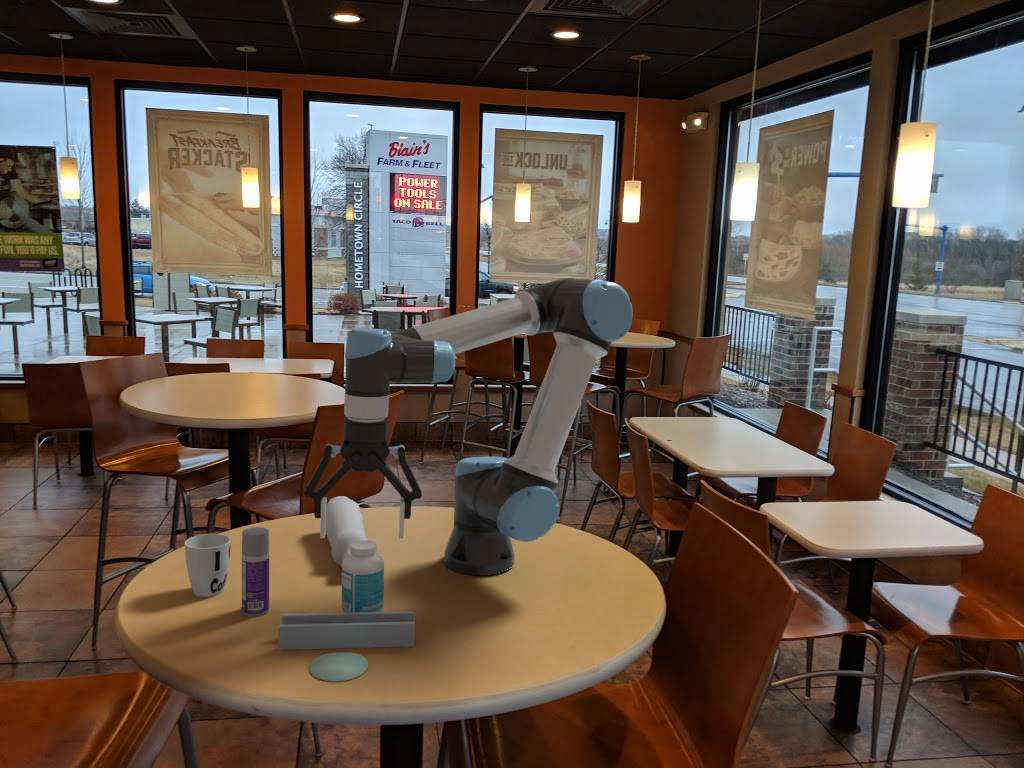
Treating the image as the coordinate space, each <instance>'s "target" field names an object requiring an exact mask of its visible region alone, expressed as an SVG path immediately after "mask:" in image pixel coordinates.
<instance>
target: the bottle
mask: <svg viewBox="0 0 1024 768" xmlns="http://www.w3.org/2000/svg"><path fill="white" fill-rule="evenodd" d="M363 520H364V517H363V514H362V512H361V508H360V506H359V504H358V503H357V502H356V501H354V499H350V498H349V497H347V496H345V495H344V496H343V495H342V496H341V495H340V496H338V495H337V496H335V497H333V498H330V499H329V501H327V507H326V534H325V535H326V536H327V540H328V541H329V544H330V547H331V557H332V559H333V561H334V562H335V563H336V564H337V565H338V566H339V567H342V562H343V559H344V558H345V557H346V556H348V555H349V554H351V553H350V544H351V543H353V542H355V541H360V540H368V538H367V536H366V531H365V527H364V523H363ZM368 541H369V540H368Z"/></svg>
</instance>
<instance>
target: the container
mask: <svg viewBox="0 0 1024 768" xmlns="http://www.w3.org/2000/svg"><path fill="white" fill-rule="evenodd" d="M269 530H270V529H268V528H266V527H262V526H254V527H253V526H252V527H248V528H245V529H243V530H242V535H241V614H242V615H243V616H246V617H250V618H251V617H252V618H253V617H255V618H256V617H261V616H264V615H266V614H267V613H268V612H270V540H269V539H270V536H269V535H270V534H269Z"/></svg>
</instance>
